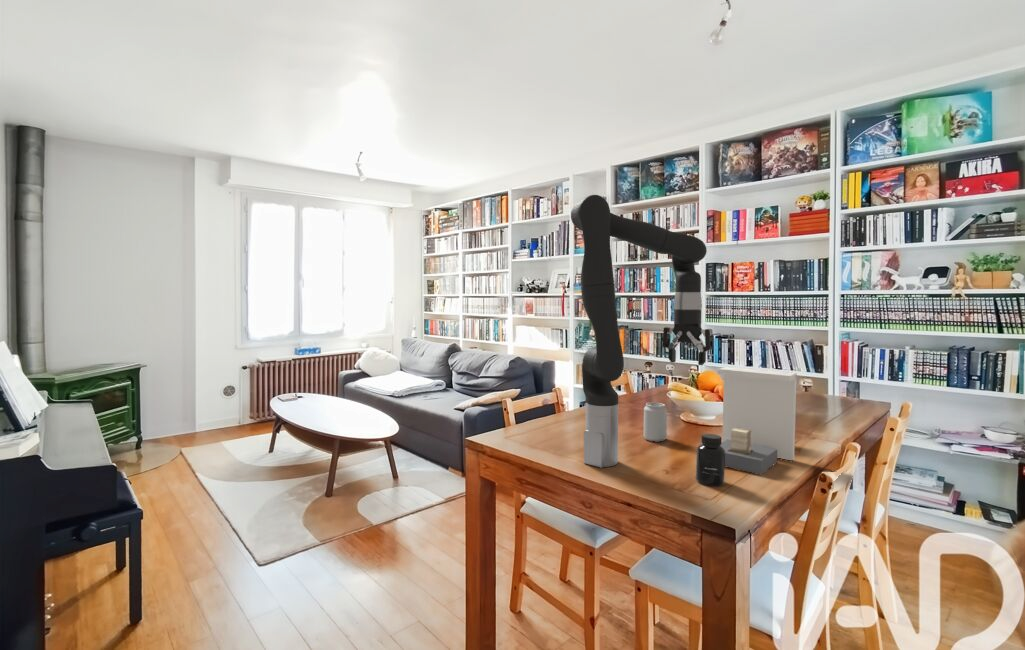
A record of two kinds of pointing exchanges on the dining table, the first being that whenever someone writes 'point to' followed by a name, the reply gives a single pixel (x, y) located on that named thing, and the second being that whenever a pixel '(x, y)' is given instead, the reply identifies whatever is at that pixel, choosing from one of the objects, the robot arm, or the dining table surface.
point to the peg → (741, 441)
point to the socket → (750, 458)
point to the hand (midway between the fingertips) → (686, 363)
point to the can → (655, 422)
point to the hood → (761, 407)
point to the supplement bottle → (710, 461)
